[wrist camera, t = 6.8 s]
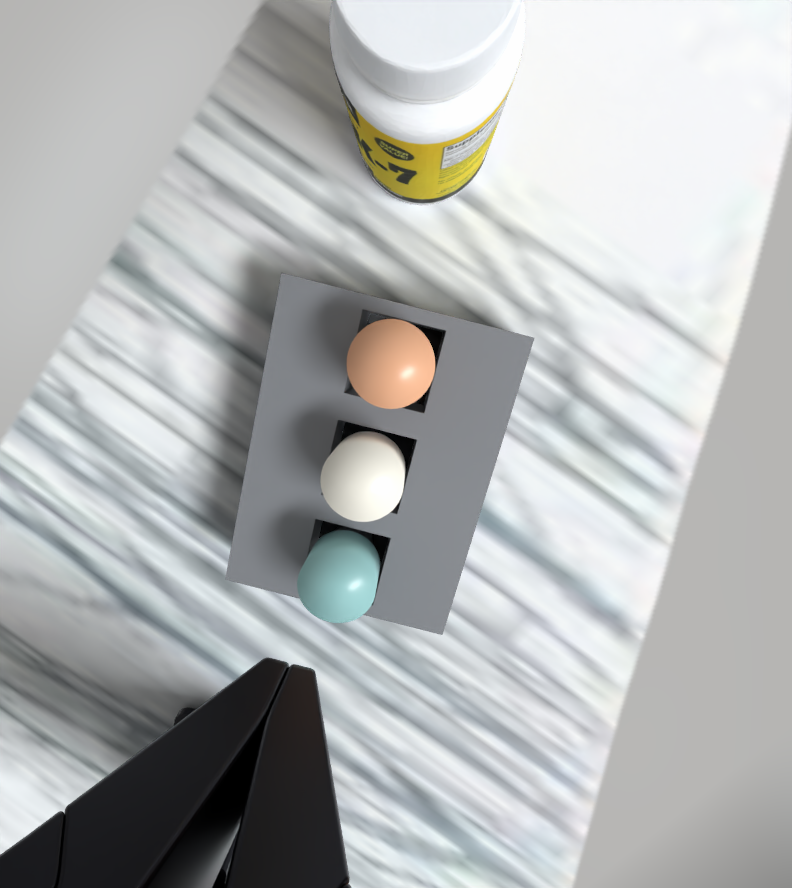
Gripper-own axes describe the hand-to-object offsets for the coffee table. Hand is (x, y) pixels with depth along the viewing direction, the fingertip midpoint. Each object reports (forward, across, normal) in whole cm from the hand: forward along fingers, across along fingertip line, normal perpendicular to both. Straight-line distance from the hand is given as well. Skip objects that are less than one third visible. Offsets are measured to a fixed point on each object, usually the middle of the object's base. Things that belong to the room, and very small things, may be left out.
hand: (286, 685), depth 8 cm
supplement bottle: (+13, +1, -13) cm, 18 cm away
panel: (+12, 0, -1) cm, 13 cm away
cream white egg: (+12, 0, -1) cm, 12 cm away
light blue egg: (+12, 0, +3) cm, 13 cm away
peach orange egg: (+12, 0, -5) cm, 13 cm away
